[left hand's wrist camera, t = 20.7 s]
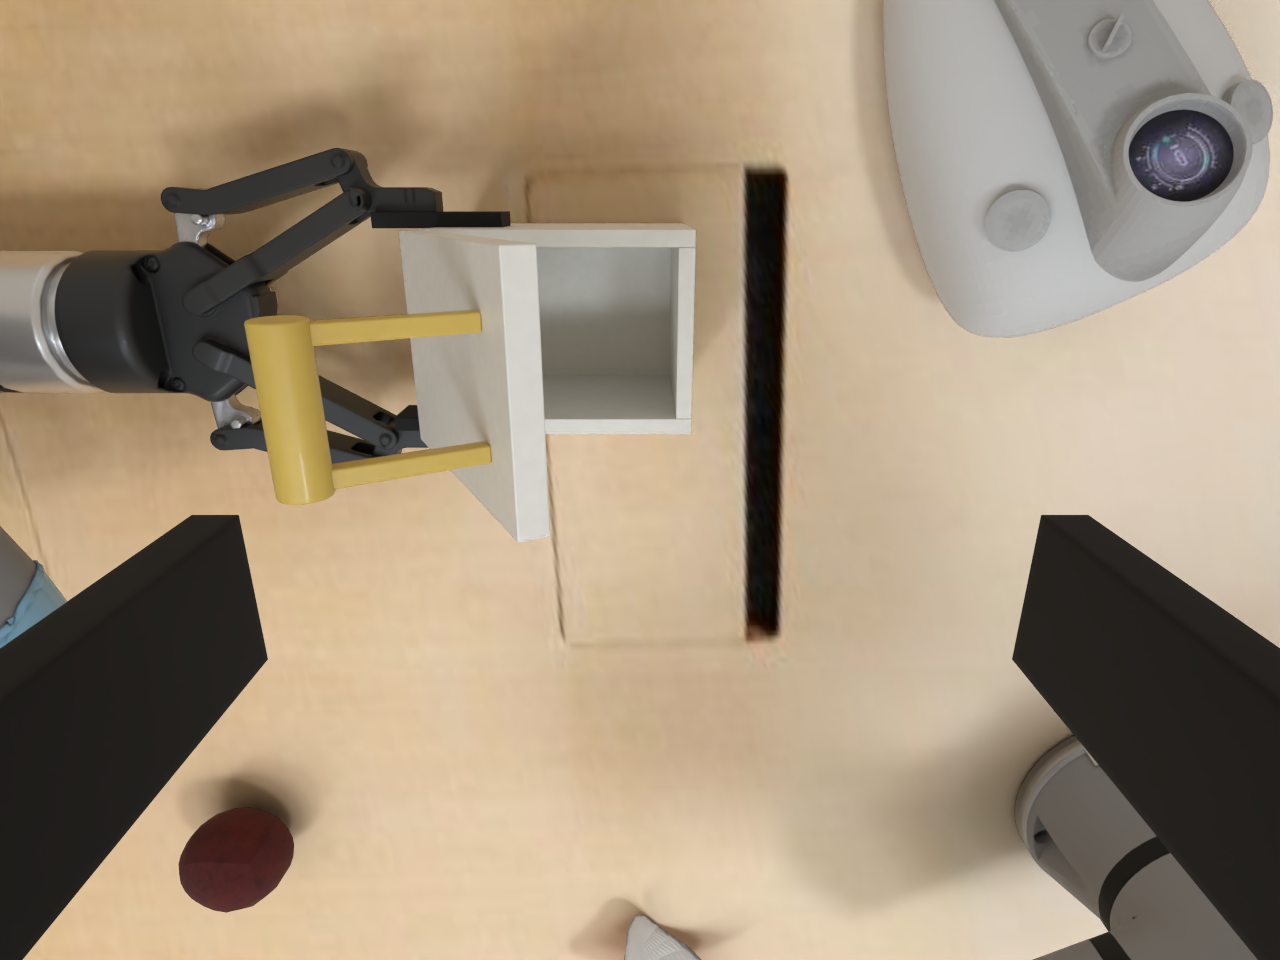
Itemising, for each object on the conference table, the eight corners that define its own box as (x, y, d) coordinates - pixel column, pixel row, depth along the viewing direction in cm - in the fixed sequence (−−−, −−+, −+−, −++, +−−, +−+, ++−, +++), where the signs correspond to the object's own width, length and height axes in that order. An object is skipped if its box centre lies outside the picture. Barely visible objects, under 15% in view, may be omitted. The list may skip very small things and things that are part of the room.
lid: (537, 243, 23) (233, 252, 19) (550, 536, 26) (295, 592, 23) (425, 229, 34) (220, 233, 31) (445, 436, 38) (263, 462, 34)
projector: (1302, -35, 40) (1646, -159, 26) (1095, 369, 48) (1279, 436, 34) (922, -180, 38) (1082, -397, 24) (769, 267, 46) (825, 295, 32)
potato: (203, 787, 59) (149, 860, 53) (301, 787, 59) (258, 860, 53) (221, 857, 62) (171, 935, 55) (314, 858, 62) (275, 936, 55)
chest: (684, 223, 45) (696, 229, 35) (680, 385, 48) (691, 434, 38) (467, 223, 45) (415, 229, 35) (479, 385, 48) (436, 434, 38)
